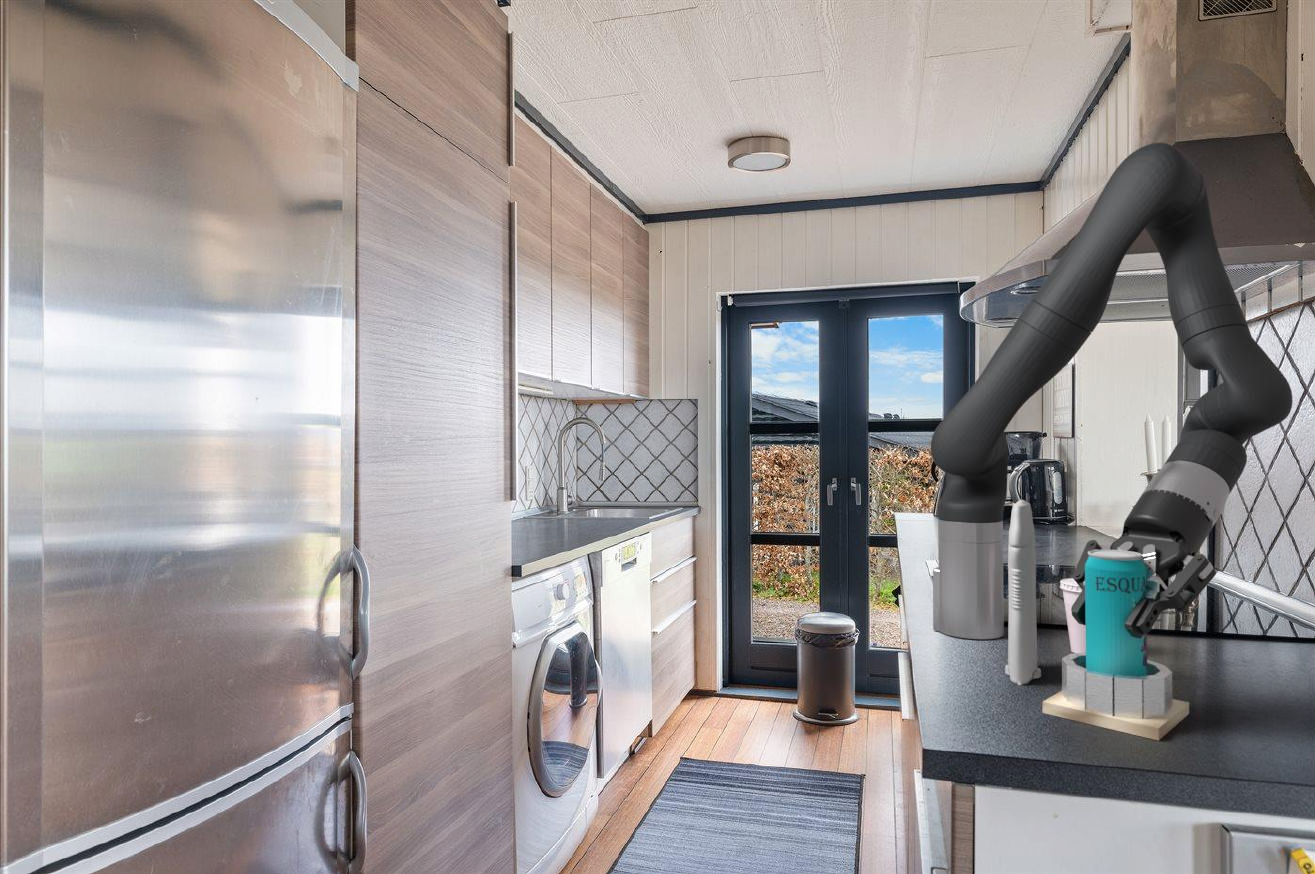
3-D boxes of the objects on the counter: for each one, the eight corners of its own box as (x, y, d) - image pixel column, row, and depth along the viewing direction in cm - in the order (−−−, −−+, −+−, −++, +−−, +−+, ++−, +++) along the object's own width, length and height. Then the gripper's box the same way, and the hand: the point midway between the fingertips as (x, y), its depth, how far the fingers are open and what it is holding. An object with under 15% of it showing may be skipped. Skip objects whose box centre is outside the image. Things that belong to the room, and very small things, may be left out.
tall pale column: (1036, 688, 94) (1034, 503, 94) (999, 683, 97) (997, 502, 97) (1045, 666, 103) (1043, 497, 104) (1010, 661, 106) (1009, 496, 106)
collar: (1049, 701, 86) (1048, 664, 86) (1082, 681, 93) (1082, 647, 93) (1154, 725, 79) (1154, 685, 79) (1182, 702, 86) (1182, 665, 86)
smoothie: (1118, 651, 110) (1117, 550, 110) (1105, 660, 106) (1104, 555, 106) (1068, 643, 115) (1067, 546, 115) (1054, 652, 110) (1053, 551, 110)
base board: (1042, 712, 86) (1042, 701, 86) (1079, 690, 94) (1079, 680, 94) (1158, 740, 78) (1158, 728, 78) (1189, 713, 86) (1189, 702, 86)
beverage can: (1147, 703, 82) (1145, 558, 82) (1084, 694, 85) (1082, 554, 85) (1147, 688, 87) (1146, 551, 87) (1088, 680, 90) (1086, 547, 90)
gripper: (1102, 484, 95) (1030, 592, 91) (1228, 491, 82) (1151, 618, 78) (1132, 526, 98) (1064, 633, 93) (1260, 539, 84) (1188, 665, 80)
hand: (1104, 625), depth 85 cm, fingers closed on beverage can, 5 cm apart
